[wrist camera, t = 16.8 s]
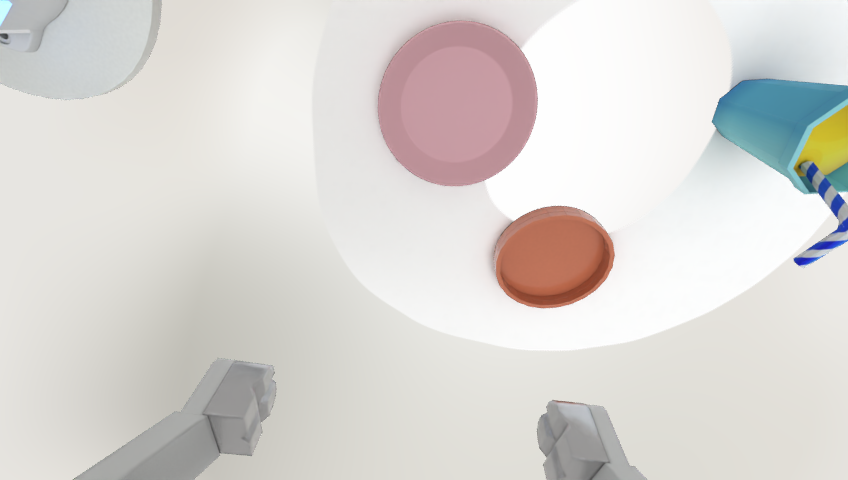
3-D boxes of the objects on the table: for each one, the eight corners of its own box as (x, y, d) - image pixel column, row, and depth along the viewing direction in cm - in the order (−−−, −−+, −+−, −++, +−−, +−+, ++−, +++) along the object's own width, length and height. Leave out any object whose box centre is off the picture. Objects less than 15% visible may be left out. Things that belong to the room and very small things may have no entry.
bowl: (482, 288, 46) (484, 300, 44) (510, 197, 39) (513, 207, 37) (581, 302, 46) (587, 314, 45) (626, 214, 39) (635, 224, 38)
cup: (716, 194, 38) (854, 287, 25) (652, 172, 37) (763, 257, 24) (837, 52, 30) (1118, 83, 18) (762, 19, 29) (1003, 27, 17)
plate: (373, 164, 38) (370, 171, 36) (391, 3, 30) (388, 2, 28) (505, 190, 38) (508, 198, 37) (556, 39, 31) (563, 41, 29)
